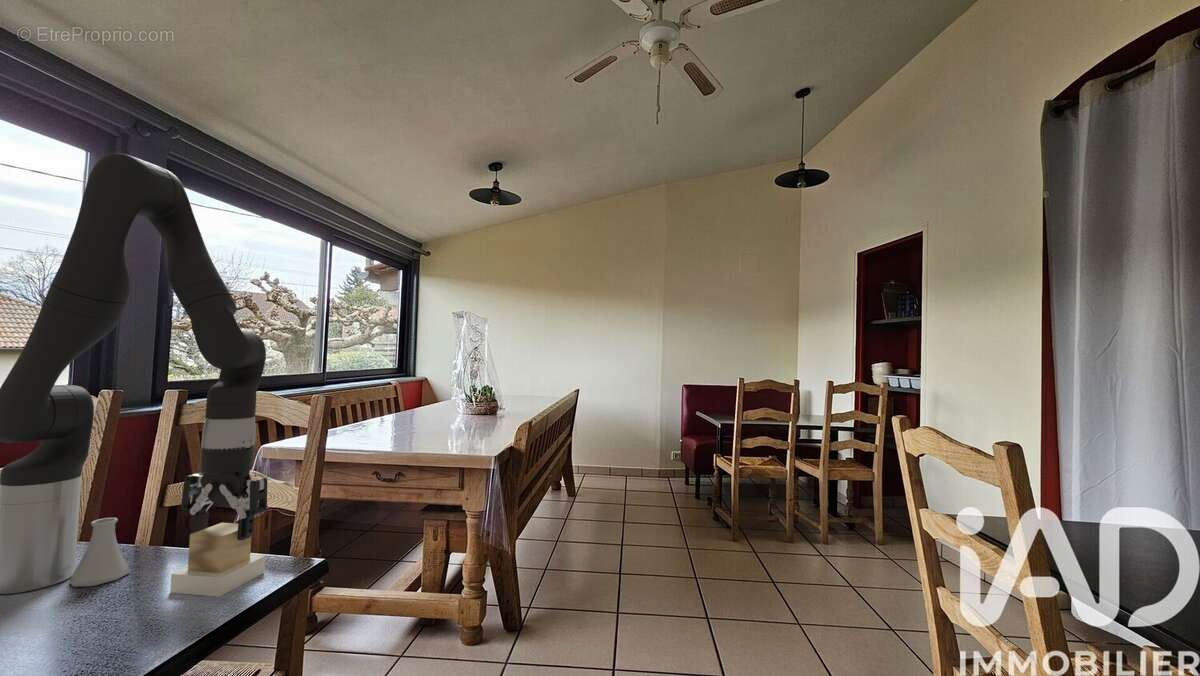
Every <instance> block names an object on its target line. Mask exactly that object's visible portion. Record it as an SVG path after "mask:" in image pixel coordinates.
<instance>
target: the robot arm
mask: <svg viewBox="0 0 1200 676" xmlns="http://www.w3.org/2000/svg"><path fill="white" fill-rule="evenodd" d="M87 179H88V180H87V182H86V185H85V189H84V192H83V195H82V201H81V205H80V208H79V212H78V214H77V215H78V216H77V219H76V223H75V227H74V229H73V232H72V234H71V237H70V239H69V242H68V245H67V246H66V250H65V252H64V254H63V255H64V256H63V258H62V260H61V263H60V265H59V268H58V270H56V271H57V272H55V275H54V277H53V279H52V281H51V283H50V286H49V288H48V290H47V293H46V295H45V297H44V299H43V302H42V305H41V308H40V310H39V313H38V316H37V318H36V321H35V323H34V325H33V328H32V330H31V333H30V334H29V335H28V339H27V340H26V342H25V344H24V347H23V348H22V351H21V352H20V354H19V356H18V358H17V360H16V361H15V363H14V364H13V366H12V368H11V370H10V371H9V373H8V375H6V378H5V379H4V381H3V383H2V385H1V386H0V442H2V443H8V444H9V443H10V444H11V443H12V444H13V443H27V442H28V443H29V442H34V441H35V442H36V441H37V442H38V441H40V444H39V446H37V448H35V449H34V450H33V451H31V452H30V453H29V454H27V455H25V456H23V457H21V458H18V459H17V460H15V461H12V462H10V463H8V464H6V465H4V466H3V467H2V469H1V471H0V595H9V594H10V595H11V594H18V593H24V592H30V591H35V590H38V589H42V588H45V587H49V586H53V585H56V584H58V583H61V582H64V581H66V580H68V579H69V578H70V579H71V577H72V575H73V573H74V572H75V565H76V553H77V541H78V540H77V539H78V531H79V530H78V529H79V515H80V505H81V504H80V503H81V491H82V490H81V487H82V474H83V473H82V472H83V467H84V464H85V463H86V461H87V459H88V457H89V452H90V444H91V437H92V431H93V425H94V417H95V404H94V400H93V398H92V395H91V394H90V392H89V391H88V390H87V389H85V388H84V387H83V386H79V385H74V384H73V385H72V384H65V385H64V384H62V385H60V384H59V385H55V384H56V382H57V380H58V379H59V377H60V375H61V374H62V373H63V372H64V371H65V369H67V367H68V366H69V365H70V364H71V363H72V362H74V361H75V360H76V359H77V358H78V357H80V356H81V355H82V354H84V353H85V352H87V350H89V349H90V348H92V347H94V345H97V343H99V342H100V341H101V340H102V339H104V338H105V337H107V335H108V334H110V333H111V332H112V331H113V330H114V329H115V328H116V326H117V325H118V323H119V321H120V320H121V317H122V314H123V312H124V310H125V307H126V306H127V304H128V303H127V302H128V301H129V298H130V295H131V289H132V285H131V277H130V271H129V267H128V263H127V257H126V253H125V252H126V241H127V237H128V234H129V232H130V229H131V227H132V224H133V222H134V220H135V219H136V217H137V216H141V217H146V218H147V219H148V221H149V222H150V223H151V224H152V226H153V227H154V228H155V230H156V231H157V232H158V234H159V235H160V237H161V239H162V242H163V243H164V246H165V251H166V269H167V271H166V272H167V278H168V281H169V284H170V286H171V289H172V291H173V292H174V294H175V296H176V298H177V299H178V301H179V303H180V304H181V306H182V308H183V310H184V312H185V313H186V315H187V316H188V317H189V319H190V325H191V329H192V332H193V333H192V334H193V335H194V339H195V343H196V345H197V349H198V351H199V352H200V355H201V356H202V357H203V359H204V360H205V361H206V362H207V363H208V364H209V365H211V366H212V367H214V368H216V369H217V370H220V371H219V372H220V373H219V375H218V380H217V382H216V383H215V384H213V385H211V387H210V388H209V389H208V392H207V393H206V394H207V395H206V404H205V416H204V423H203V427H202V433H201V445H200V457H199V458H200V460H199V469H198V470H199V472H197V473H193V474H189V475H185V476H184V479H183V488H182V495H181V504H180V509H181V510H182V511H188V512H189V514H190V515H191V527H190V528H191V534H192V533H195V532H198V531H200V530H203V529H206V528H209V518H210V517H209V514H210V511H208V510H209V509H210V508H211V506H213V504H215V503H222V504H229V506H230V507H231V509H233V510H235V511H236V513H237V515H238V516H239V518H238V521H237V522H238V523H237V524H238V534H237V539H238V540H245V539H247V538H249V537H250V536H251V537H252V536H253V534H254V530H255V517H256V515H259V514H262V513H265V512H266V511H267V509H268V479H267V477H264V476H263V477H259V478H252V476H251V474H250V472H251V470H252V469H253V467H254V463H255V449H256V431H257V428H256V427H257V425H256V410H257V409H256V407H257V392H258V388H259V386H260V383H261V380H262V377H263V376H262V375H263V371H264V370H265V369H264V368H265V365H266V360H267V359H266V358H267V351H266V350H267V349H266V345H265V342H264V340H263V339H262V338H261V337H260V336H259V334H257V333H254V332H252V331H248V330H242V329H241V327H240V326H239V325H238V322H237V319H236V318H235V314H236V312H237V311H238V310H237V304H236V301H235V299H234V297H233V296H232V294H231V292H230V291H229V289H228V287H227V285H226V283H225V282H224V280H223V279H222V276H221V275H220V273H219V272H218V270H217V268H216V266H215V263H214V262H213V260H212V258H211V256H210V253H209V251H208V249H207V247H206V244H205V242H204V239H203V237H202V236H203V235H202V233H201V230H200V228H199V226H198V222H197V220H196V217H195V214H194V211H193V209H192V206H191V203H190V200H189V197H188V194H187V192H186V190H185V187H184V185H183V183H182V182H181V180H180V179H179V178H178V176H176V175H175V174H174V173H173V172H172V171H169V170H168V169H166V168H164V167H161V166H159V165H156V164H154V163H151V162H149V161H146V160H144V159H140V158H138V157H135V156H132V155H129V154H126V153H121V152H120V153H119V152H117V153H111V154H107V155H105V156H103V157H102V158H101V159H99V160H98V161H97V162H96V164H95V165H94V166H93V168H92V169H91V171H90V173H89V176H88V178H87ZM202 489H203V490H202Z"/></svg>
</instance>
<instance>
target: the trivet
mask: <svg viewBox="0 0 1200 676" xmlns="http://www.w3.org/2000/svg"><path fill="white" fill-rule="evenodd" d="M265 561H266V556H265V555H257V554H256V555H255V554H254V555H253V554H250V559H249V560H247V561H245V562H243V563H240V564H238V565H236V566H234V567H232V568H230V569H228V570H226V571H224V572H222V573H210V572H197V571H188V566H187V567H184V568H181V569H179V570H177V571H175V572H173V573H171V574H170V577H171V578H170V588H169V589H170V590H169V591H170V593H172V594H181V595H182V594H185V595H196V596H206V597H215V598H216V597H218V598H220V597H222V596H223V595H225V594H228V593H229V592H231V591H233V590H235V589H236V588H237V589H238V588H239V587H241V586H243V585H244V584H246V583H248V582H250V581H252V580H254V579H255V578H258V577H259V576H261V575H263V574H265V565H266V564H265V563H266V562H265Z"/></svg>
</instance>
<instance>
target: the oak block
mask: <svg viewBox="0 0 1200 676" xmlns="http://www.w3.org/2000/svg"><path fill="white" fill-rule="evenodd" d="M237 534H238V523H234V522H233V523H232V522H220V523H217V524H215V525H212V526H208V528H206V529H203V530H200V531H198V532H195V533H192V532H191V533H190V534H189V546H188V547H189V548H188V549H189V550H188V559H187V560H188V562H187V567H188V571H197V572H210V573H222V572H224V571H226V570H228V569H230V568H232V567H234V566H236V565H238V564H240V563H243V562H245V561H247V560H249V559H250V555H251V550H252V549H251V548H252V535H251V536H250V537H249V538H247V539H245V540H238V539H237Z"/></svg>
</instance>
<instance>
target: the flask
mask: <svg viewBox="0 0 1200 676" xmlns="http://www.w3.org/2000/svg"><path fill="white" fill-rule="evenodd" d="M118 521H119V519H118V518H117V517H104V518H99V519H96V520H93V521H91V522H90V526H92V535H91V537H90V540H89V542H88V546H87V547H86V549H85V551H84V554H83V555H82V557H81V558H80V561H79V563H78V565H77V567H76V568H75V569H74V573H73V575H72V576H71V577H70V579H69V581H68V583H69V584H70V585H72V587H73V588H74V587H75V588H76V587H94V586H98V585H102V584H105V583H109V582H112V581H117V580H119V579H120V578H123V577H124V576H126V575H128V574H130V573H131V570H130V568H129V566H128V564H127V562H126V558H125V557H124V555H123V553H122V551H121V548H120V546H119V544H118V540H117V536H116V535H117V534H116V523H118Z"/></svg>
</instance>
